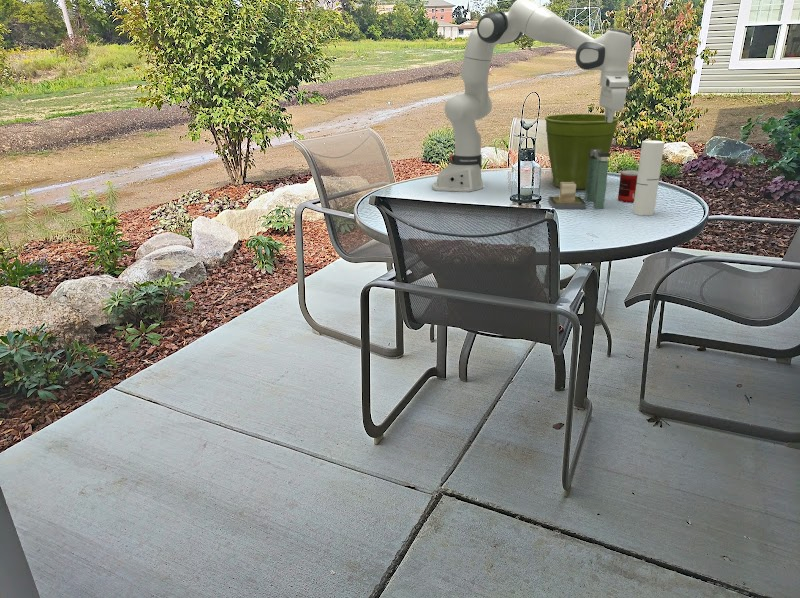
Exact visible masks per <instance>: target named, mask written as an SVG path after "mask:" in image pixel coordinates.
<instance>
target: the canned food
mask: <svg viewBox="0 0 800 598" xmlns="http://www.w3.org/2000/svg"><path fill="white" fill-rule="evenodd" d="M637 176H638V170H633V169H629V170H628V169H627V170H622V171H621V172H620V177H619V178H620V179H619V185H618V186H619V187H618V193H617V200H618V201H619V202H621V201H623V202H622V203H634V198H635V191H636V183H637Z"/></svg>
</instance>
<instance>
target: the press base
mask: <svg viewBox="0 0 800 598" xmlns="http://www.w3.org/2000/svg"><path fill="white" fill-rule="evenodd" d="M608 171H609V161H608V160H607V161H600V160H599V159H597V158H596V157H589V159H588V169H587V179H586V189H584V190H585V191H584V199H582V197H581V196H575V201H561V200H560V198H559V196H548V197H547V202H548V204H549V206H550V207H551V206H552V207H551V208H555V209H554V210H586V209H587V203H586V202H593V208H594V209H595V210H601V209H602V210H603V209H604V207H605V206H604V205H605V198H606V188H607V182H608V181H607V179H608ZM584 200H585V201H586V202H585V201H584Z"/></svg>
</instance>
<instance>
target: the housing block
mask: <svg viewBox="0 0 800 598" xmlns="http://www.w3.org/2000/svg"><path fill="white" fill-rule="evenodd" d="M576 190H577V189H576V184H575V183H574V182H560V187H559V193H558V195H559V196H558V197H559V198H560V200H561V201H575V197H576Z"/></svg>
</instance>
